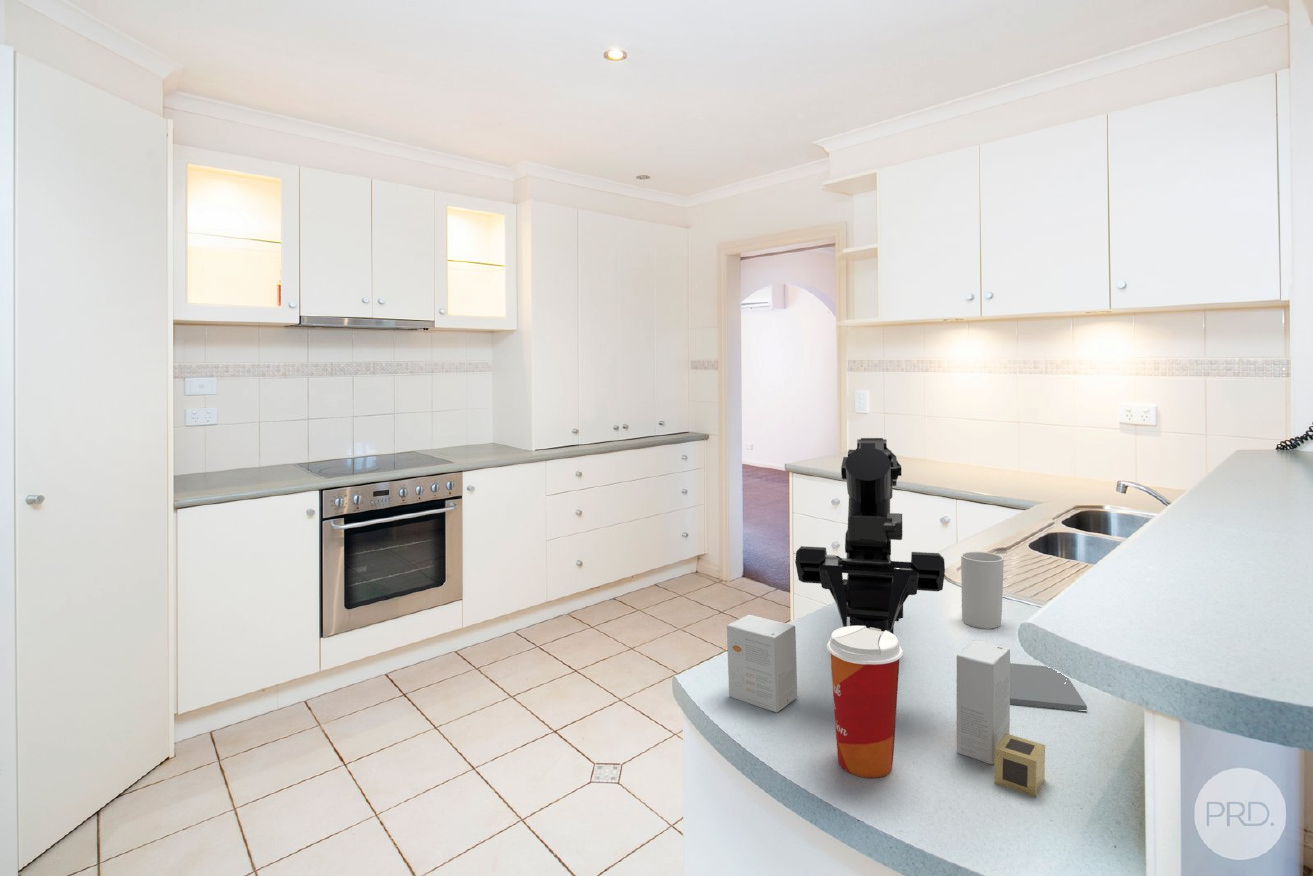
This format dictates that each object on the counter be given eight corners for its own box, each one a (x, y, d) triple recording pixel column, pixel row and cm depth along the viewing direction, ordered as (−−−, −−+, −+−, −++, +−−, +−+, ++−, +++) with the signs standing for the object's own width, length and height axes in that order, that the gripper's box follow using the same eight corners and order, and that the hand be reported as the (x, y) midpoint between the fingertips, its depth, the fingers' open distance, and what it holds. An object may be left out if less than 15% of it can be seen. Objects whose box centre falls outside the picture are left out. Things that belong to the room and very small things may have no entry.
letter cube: (1035, 798, 70) (1036, 761, 70) (994, 783, 73) (994, 748, 73) (1044, 780, 73) (1045, 745, 73) (1004, 767, 76) (1005, 733, 76)
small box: (798, 698, 93) (797, 625, 93) (776, 714, 89) (775, 637, 88) (750, 682, 99) (748, 613, 98) (727, 697, 95) (725, 624, 94)
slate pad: (1086, 712, 87) (1086, 706, 87) (985, 701, 91) (985, 695, 91) (1061, 672, 99) (1061, 667, 99) (972, 665, 102) (972, 659, 102)
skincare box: (972, 732, 83) (973, 638, 82) (1010, 744, 80) (1011, 647, 79) (954, 753, 79) (955, 654, 78) (993, 766, 76) (994, 664, 75)
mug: (1006, 631, 115) (1006, 562, 114) (963, 628, 117) (963, 560, 116) (996, 611, 125) (996, 548, 124) (956, 608, 127) (957, 546, 126)
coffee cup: (845, 736, 83) (844, 618, 82) (913, 758, 78) (913, 633, 77) (815, 768, 77) (813, 640, 76) (886, 794, 72) (886, 658, 70)
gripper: (796, 488, 92) (785, 592, 82) (944, 492, 86) (951, 604, 76) (803, 532, 100) (794, 631, 91) (939, 538, 94) (945, 645, 85)
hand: (867, 627), depth 85 cm, fingers open, 5 cm apart
